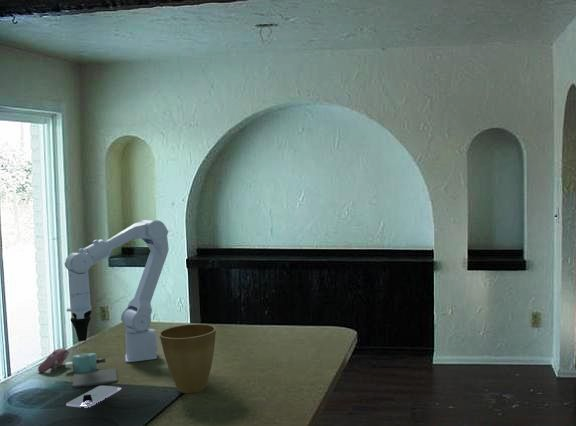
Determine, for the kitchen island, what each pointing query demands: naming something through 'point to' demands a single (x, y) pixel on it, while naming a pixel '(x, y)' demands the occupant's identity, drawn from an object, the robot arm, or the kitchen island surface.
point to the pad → (94, 377)
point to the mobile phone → (93, 396)
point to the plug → (84, 362)
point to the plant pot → (189, 355)
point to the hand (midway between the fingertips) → (82, 337)
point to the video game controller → (54, 360)
